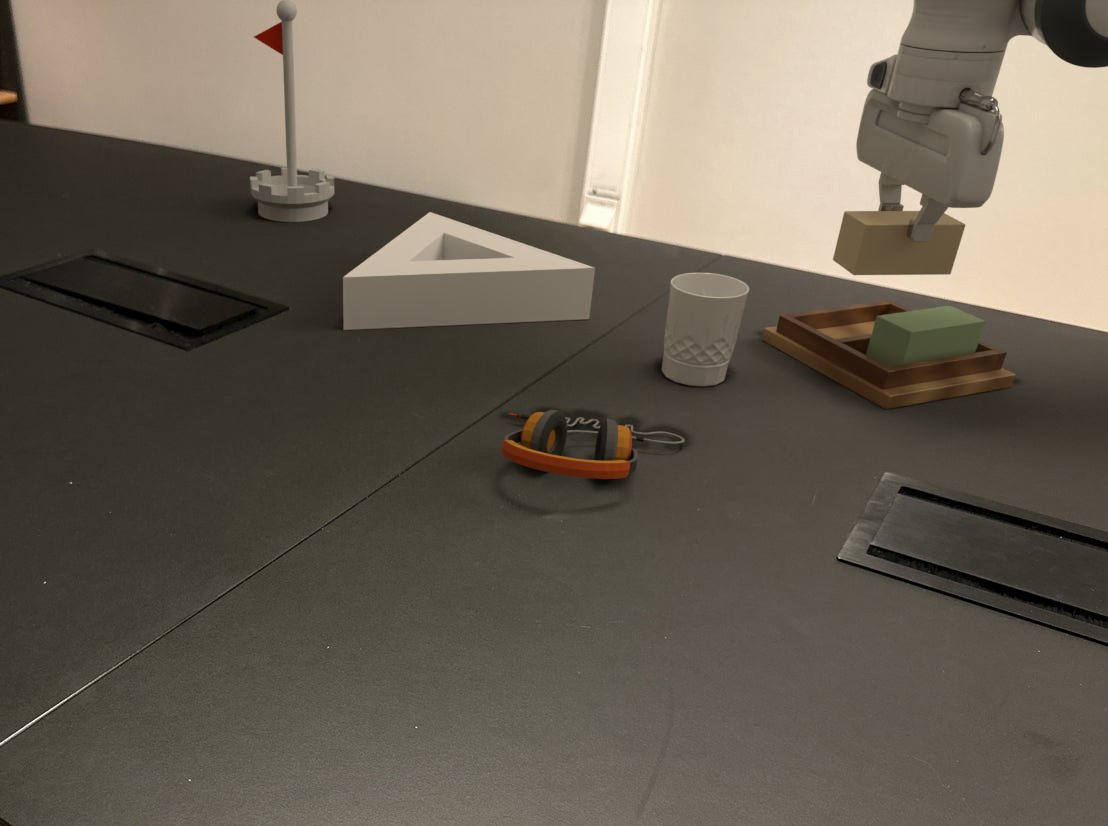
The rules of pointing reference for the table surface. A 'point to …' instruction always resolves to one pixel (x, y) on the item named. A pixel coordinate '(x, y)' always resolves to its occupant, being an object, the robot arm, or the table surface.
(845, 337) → the wooden tray
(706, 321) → the white cup
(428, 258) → the triangle block
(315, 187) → the flag stand
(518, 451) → the headphones
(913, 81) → the robot arm
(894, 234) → the beige block
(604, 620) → the table surface
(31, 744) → the table surface
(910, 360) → the sage block
